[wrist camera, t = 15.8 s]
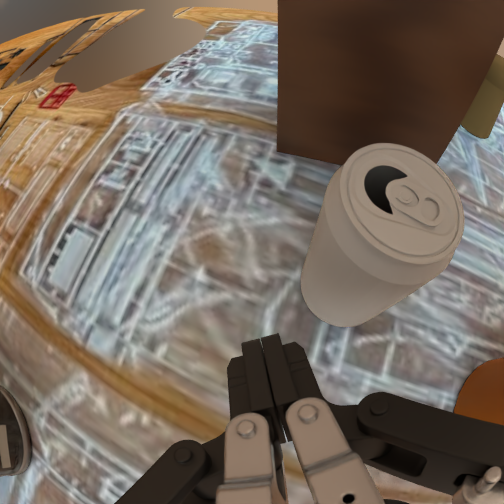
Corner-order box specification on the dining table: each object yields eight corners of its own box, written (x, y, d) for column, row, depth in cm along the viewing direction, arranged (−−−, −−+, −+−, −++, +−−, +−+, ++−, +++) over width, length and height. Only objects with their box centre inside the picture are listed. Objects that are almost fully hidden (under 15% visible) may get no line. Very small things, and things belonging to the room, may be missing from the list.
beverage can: (324, 232, 23) (362, 115, 12) (394, 272, 22) (480, 182, 11) (282, 300, 21) (299, 214, 10) (359, 345, 20) (453, 304, 9)
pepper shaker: (492, 145, 27) (530, 85, 17) (455, 125, 28) (489, 58, 18) (485, 118, 29) (516, 62, 19) (451, 100, 30) (478, 39, 20)
